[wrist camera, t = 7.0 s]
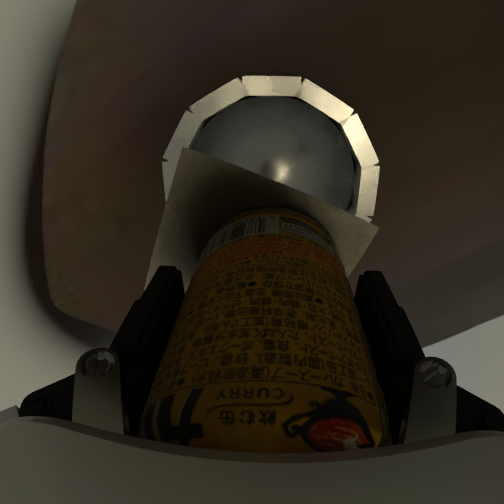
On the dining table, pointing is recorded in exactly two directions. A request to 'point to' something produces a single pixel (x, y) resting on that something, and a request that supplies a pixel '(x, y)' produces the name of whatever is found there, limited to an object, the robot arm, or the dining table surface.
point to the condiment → (262, 319)
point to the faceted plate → (283, 139)
